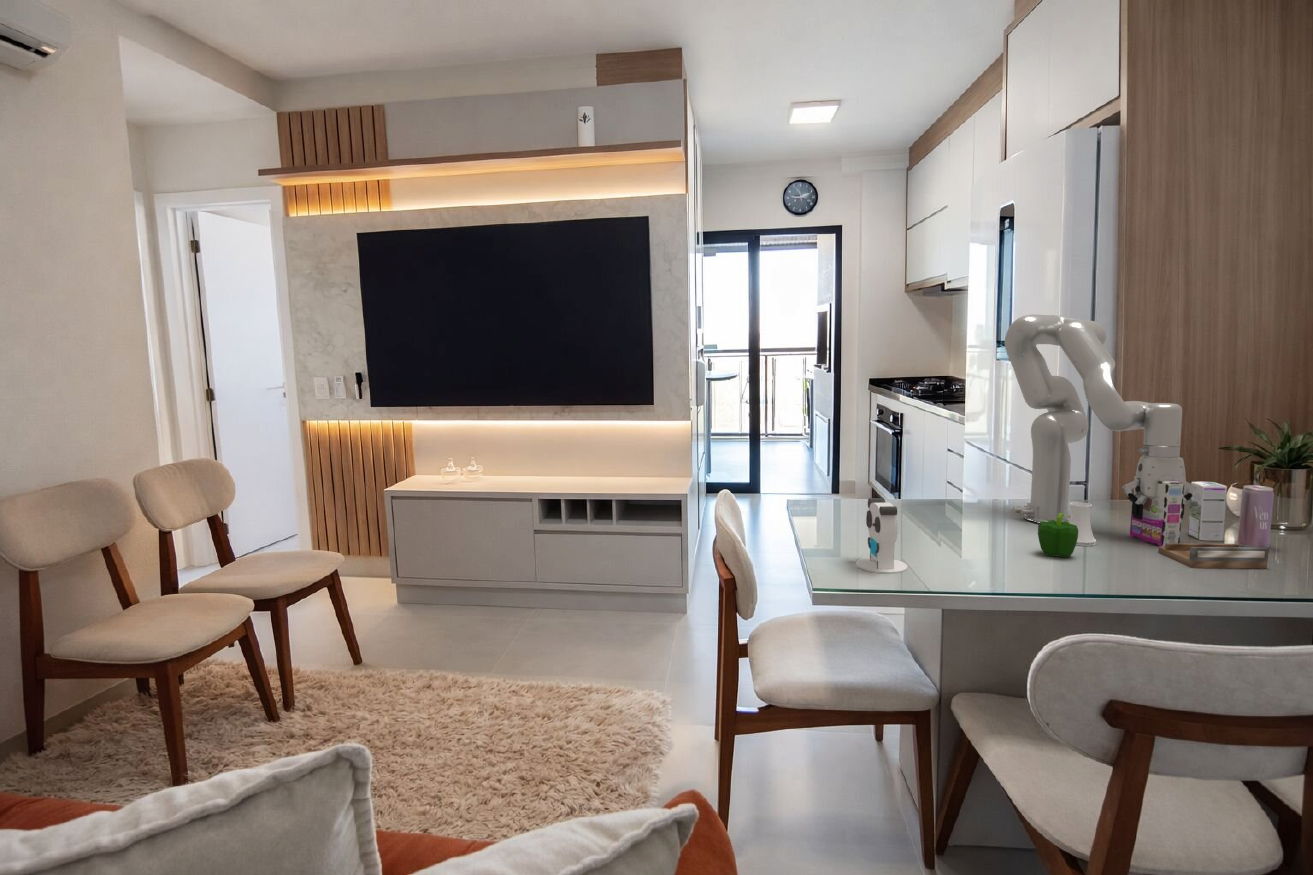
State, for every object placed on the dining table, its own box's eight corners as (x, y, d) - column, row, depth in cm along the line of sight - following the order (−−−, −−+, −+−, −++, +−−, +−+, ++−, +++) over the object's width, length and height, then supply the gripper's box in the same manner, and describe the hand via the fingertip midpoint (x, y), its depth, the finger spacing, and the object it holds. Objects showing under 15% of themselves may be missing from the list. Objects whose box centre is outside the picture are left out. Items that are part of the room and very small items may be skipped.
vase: (1093, 540, 182) (1096, 502, 181) (1097, 547, 175) (1100, 508, 174) (1060, 537, 185) (1062, 500, 184) (1063, 544, 178) (1065, 505, 177)
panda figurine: (850, 557, 169) (851, 496, 167) (897, 557, 168) (899, 496, 167) (863, 573, 157) (864, 508, 155) (914, 573, 156) (916, 507, 155)
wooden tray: (1192, 567, 158) (1194, 548, 157) (1158, 552, 170) (1159, 534, 170) (1268, 568, 157) (1269, 549, 156) (1227, 553, 169) (1229, 534, 168)
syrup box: (1224, 541, 179) (1229, 485, 177) (1198, 540, 180) (1202, 485, 178) (1211, 535, 185) (1216, 481, 183) (1186, 534, 186) (1190, 480, 184)
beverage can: (1261, 544, 176) (1267, 485, 174) (1273, 550, 170) (1279, 490, 168) (1232, 542, 178) (1238, 484, 176) (1243, 548, 172) (1249, 488, 170)
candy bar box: (1181, 547, 174) (1186, 482, 172) (1162, 548, 174) (1167, 483, 172) (1146, 535, 185) (1150, 474, 183) (1128, 536, 185) (1132, 475, 183)
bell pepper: (1062, 561, 164) (1065, 520, 162) (1030, 553, 171) (1032, 513, 170) (1084, 556, 167) (1087, 515, 166) (1051, 548, 175) (1054, 509, 173)
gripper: (1134, 454, 174) (1130, 521, 176) (1207, 453, 172) (1203, 521, 174) (1116, 450, 181) (1113, 515, 183) (1187, 449, 180) (1183, 515, 182)
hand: (1157, 518), depth 179 cm, fingers open, 9 cm apart
